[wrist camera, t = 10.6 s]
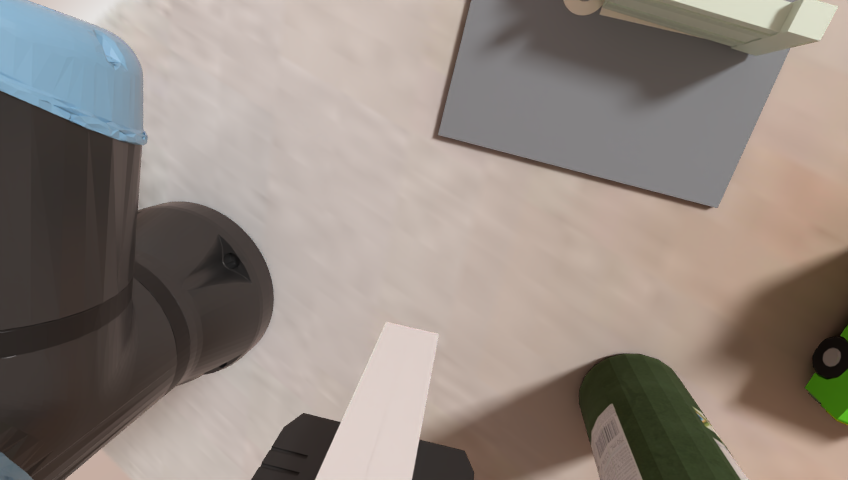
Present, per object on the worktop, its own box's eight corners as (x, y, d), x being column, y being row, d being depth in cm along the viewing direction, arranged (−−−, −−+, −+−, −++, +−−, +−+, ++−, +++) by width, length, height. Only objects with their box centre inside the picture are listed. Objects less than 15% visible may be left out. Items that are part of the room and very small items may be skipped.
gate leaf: (601, 9, 28) (625, -17, 23) (611, -19, 28) (639, -52, 22) (756, 55, 28) (819, 40, 22) (769, 28, 27) (838, 6, 22)
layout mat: (438, 134, 33) (437, 135, 32) (520, -195, 27) (520, -202, 26) (714, 206, 31) (718, 208, 31) (865, -129, 25) (873, -134, 25)
